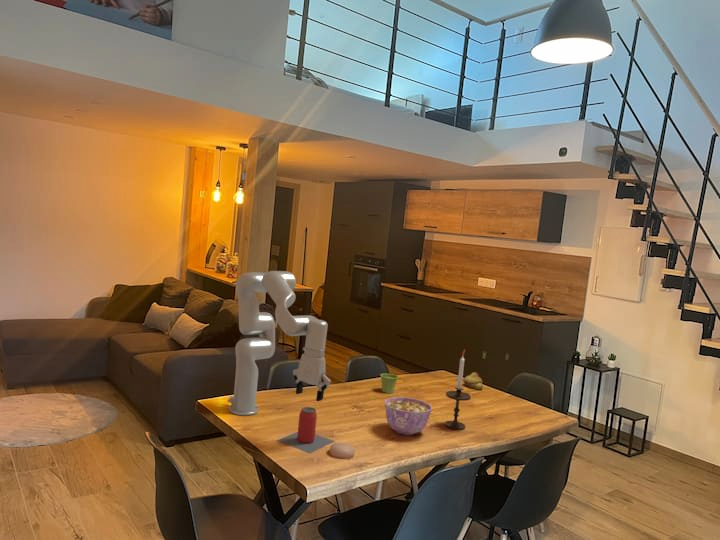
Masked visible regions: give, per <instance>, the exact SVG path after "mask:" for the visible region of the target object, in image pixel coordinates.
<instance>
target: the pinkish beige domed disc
mask: <svg viewBox="0 0 720 540" xmlns="http://www.w3.org/2000/svg"><path fill="white" fill-rule="evenodd" d="M329 448H330V449H329V454H330V455H331V456H332V457H334V458H336V459H337V458H338V459H348V460H351V458H352V459H353V458H354V457H355V452H356V448H355V447H354V446H353V445H352V444H349V443H344V442H333V443H331V444H330V447H329Z"/></svg>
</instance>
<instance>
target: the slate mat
mask: <svg viewBox="0 0 720 540" xmlns="http://www.w3.org/2000/svg"><path fill="white" fill-rule="evenodd" d="M297 435H298V431H297V432H293V433H291V434H289V435H286V436H284V437H281V438H279V439H277V440H275V441H276V442H278V443H281V444H284V445H287V446H289V447H292V448H295V449H297V450H299V451H303V452H306V453H307V454H311V453H313V452H317V451H318V450H321V449H323V448H324V447H326V446H329V445H332V444H334V443H336V441H335V440H334V439H330V438H327V437H325V436H322V435H318V434H316V433H315V439H314V441H313V442H311V443H302V442H299V441H298V440H297Z"/></svg>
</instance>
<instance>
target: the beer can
mask: <svg viewBox="0 0 720 540" xmlns="http://www.w3.org/2000/svg"><path fill="white" fill-rule="evenodd" d="M298 417H299V418H298V427H297V432H298V435H297V440H298V441H299V442H302V443H311V442H313V441H314V439H315V434H316V427H317V418H318V415H317V410H316V408H314V407H310V406H309V407H308V406H305V407H302V408H301V410H300V412H299V416H298Z"/></svg>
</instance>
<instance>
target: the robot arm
mask: <svg viewBox="0 0 720 540" xmlns="http://www.w3.org/2000/svg"><path fill="white" fill-rule="evenodd" d="M296 285H297V280H296V276H295V275H294V274H293V273H292V272H291V271H288V270H287V271H285V270H270V271H266V272H259V271H251V272H245V273H242V274H241V275H239V277H238V278H237V281H236V286H235V288H236V296H237V299H238V300H237V301H238V329H239V332H240V333H241V334H242V335H245V336H251V335H258V336H259V337H245V338H243V339H240V340H238V341H237V342H236V344H235V352H234V353H235V359H236V360H235V363H236V365H235V378H234V389H233V396H230V397H229V398H228V399H227V403H230V406H229V407H228V412H230V413H231V414H233V415H238V416H253V415H256V414H257V413H259V409H260V408H259V406H257V405H256V403H257V401H256V400H257V393H258V383H259V382H258V381H259V368H258V366H257V364H256V361H258V360H265V359H271V358H272V357H273V356H274V354H275V352H276V323H275V322H277V324H278V326H279V328H281V330H282V331H283V332H284V333H285V335H288V336H290V337H295V336H296V337H297V336H305V343H304V346H303V347H302V351H304V352H303V353H302V355H301V357H300V360H299V363H298V368H295V369H293V370H292V373H293V374H292V375H293V379H294V380H295V384H296V388H295V394H296V395H300V394H302V393H303V389H304V383H306V384H308V385H313V386H316V387H317V392H316V397H315V399H316V401H317V402H319V401H323V399H324V392H325V391H326V389H328V388H329V386H330V385H331V383H332V380H331V379H330V378H329V377H328V376H327V375H326V358H325V351H326V342H327V333H328V325H329V324H328V322H327V321H325V320H323V319H318V318H317V317H315V316H314V315H303V314H302V315H292V314H291V313H290V311H289V309H288V308H289V307H291V306H292V305H293V304H294V302H295V301H296V299H297V298H296V297H297V296H296V294H295V292H294V290H295V288H296ZM255 293H267V294H268V295H269V296H270V298H271V299H272V300H273V302H274V303H275V305H276V307H275V310H274V312H275V314H274V315H275V319H274V316H273V315H272V314H271V313H270V312H268V311H267V312H266V311H260V303H259V302H260V301H259V299H258V297H257V296H256V294H255ZM275 320H276V321H275Z"/></svg>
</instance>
